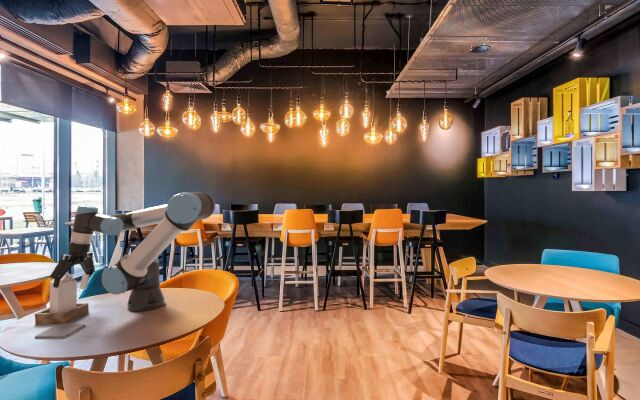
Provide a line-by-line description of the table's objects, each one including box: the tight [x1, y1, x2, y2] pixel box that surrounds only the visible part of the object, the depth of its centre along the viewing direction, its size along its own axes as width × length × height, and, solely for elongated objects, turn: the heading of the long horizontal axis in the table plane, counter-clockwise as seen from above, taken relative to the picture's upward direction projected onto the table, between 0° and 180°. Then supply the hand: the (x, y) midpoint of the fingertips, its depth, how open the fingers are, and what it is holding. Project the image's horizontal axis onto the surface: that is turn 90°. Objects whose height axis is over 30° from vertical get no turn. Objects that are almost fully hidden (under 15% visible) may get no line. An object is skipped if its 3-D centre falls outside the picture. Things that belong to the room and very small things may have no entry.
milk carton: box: [49, 271, 78, 313], centre depth 153 cm, size 7×7×19 cm
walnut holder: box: [34, 302, 90, 325], centre depth 153 cm, size 13×13×4 cm
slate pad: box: [34, 323, 86, 339], centre depth 138 cm, size 11×11×1 cm
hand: (69, 292), depth 155 cm, fingers open, 13 cm apart
